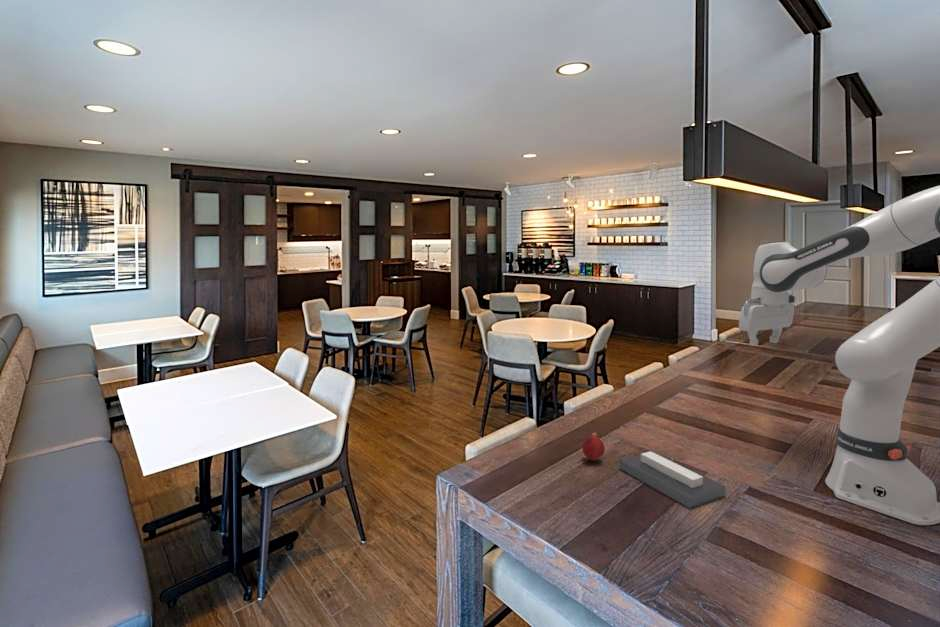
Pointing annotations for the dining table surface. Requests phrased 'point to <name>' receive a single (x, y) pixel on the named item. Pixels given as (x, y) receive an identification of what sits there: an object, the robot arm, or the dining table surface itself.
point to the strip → (672, 469)
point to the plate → (673, 483)
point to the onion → (593, 447)
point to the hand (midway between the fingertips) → (763, 343)
